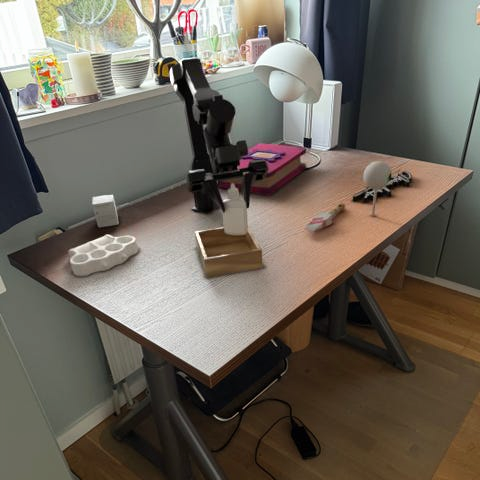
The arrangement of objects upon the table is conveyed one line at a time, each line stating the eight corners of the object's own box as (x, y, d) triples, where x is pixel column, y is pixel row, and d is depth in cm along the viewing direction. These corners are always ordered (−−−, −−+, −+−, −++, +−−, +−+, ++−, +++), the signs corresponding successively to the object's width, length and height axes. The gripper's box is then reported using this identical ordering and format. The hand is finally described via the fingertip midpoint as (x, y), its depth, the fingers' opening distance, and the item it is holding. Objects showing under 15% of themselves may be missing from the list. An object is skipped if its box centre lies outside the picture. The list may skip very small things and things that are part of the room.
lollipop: (381, 223, 127) (387, 168, 118) (355, 218, 130) (360, 164, 121) (389, 213, 131) (396, 159, 122) (364, 208, 135) (370, 156, 126)
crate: (197, 248, 122) (194, 231, 119) (247, 239, 124) (246, 223, 121) (206, 277, 110) (204, 259, 107) (262, 267, 112) (261, 249, 109)
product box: (97, 228, 137) (91, 204, 132) (98, 220, 141) (91, 196, 137) (119, 224, 137) (113, 201, 133) (118, 216, 142) (113, 193, 138)
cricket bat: (301, 223, 122) (336, 200, 135) (301, 233, 124) (336, 209, 137) (314, 226, 120) (349, 202, 133) (314, 236, 122) (348, 211, 135)
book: (214, 186, 157) (212, 164, 153) (256, 161, 176) (255, 140, 171) (269, 195, 148) (269, 171, 143) (307, 167, 166) (307, 145, 162)
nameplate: (393, 168, 155) (422, 174, 149) (393, 173, 156) (421, 179, 150) (345, 194, 140) (375, 202, 134) (345, 199, 141) (374, 207, 135)
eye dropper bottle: (237, 239, 109) (234, 189, 102) (221, 232, 113) (217, 183, 105) (251, 232, 112) (248, 183, 104) (234, 226, 115) (231, 178, 108)
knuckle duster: (118, 238, 130) (148, 254, 121) (58, 263, 120) (86, 282, 111) (115, 227, 128) (146, 242, 119) (54, 251, 118) (82, 270, 110)
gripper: (181, 134, 100) (199, 202, 98) (264, 122, 103) (282, 187, 101) (180, 160, 111) (195, 222, 109) (255, 148, 114) (271, 208, 112)
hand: (236, 210), depth 107 cm, fingers closed on eye dropper bottle, 5 cm apart
